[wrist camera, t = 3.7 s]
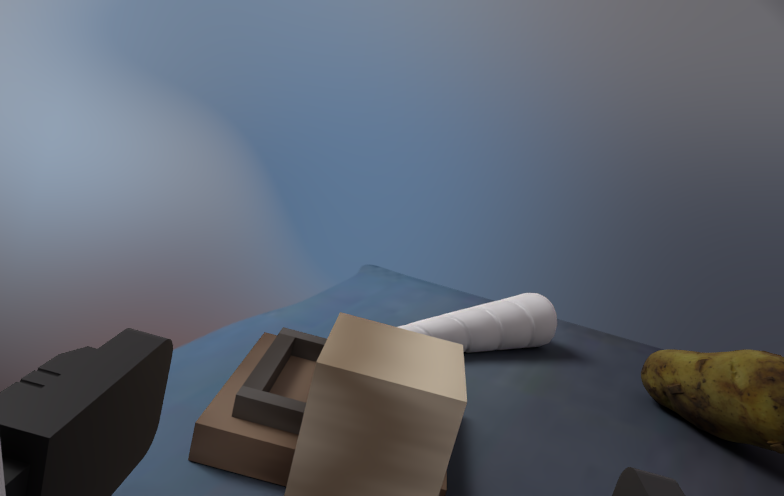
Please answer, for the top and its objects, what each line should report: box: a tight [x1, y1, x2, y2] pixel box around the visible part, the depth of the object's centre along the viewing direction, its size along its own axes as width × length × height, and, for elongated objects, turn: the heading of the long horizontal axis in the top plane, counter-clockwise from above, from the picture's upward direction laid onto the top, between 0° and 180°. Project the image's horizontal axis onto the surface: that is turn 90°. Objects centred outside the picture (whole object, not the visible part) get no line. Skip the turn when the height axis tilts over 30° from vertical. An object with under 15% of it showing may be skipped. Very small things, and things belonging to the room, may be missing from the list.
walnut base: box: [188, 327, 447, 496], centre depth 36 cm, size 12×12×3 cm
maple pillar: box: [284, 312, 467, 496], centre depth 25 cm, size 5×5×10 cm
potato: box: [641, 350, 784, 454], centre depth 48 cm, size 8×13×8 cm, turn 10°
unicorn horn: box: [398, 293, 557, 353], centre depth 52 cm, size 5×24×5 cm, turn 125°
